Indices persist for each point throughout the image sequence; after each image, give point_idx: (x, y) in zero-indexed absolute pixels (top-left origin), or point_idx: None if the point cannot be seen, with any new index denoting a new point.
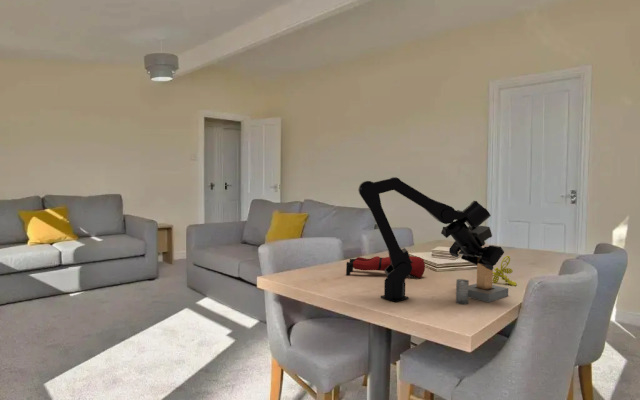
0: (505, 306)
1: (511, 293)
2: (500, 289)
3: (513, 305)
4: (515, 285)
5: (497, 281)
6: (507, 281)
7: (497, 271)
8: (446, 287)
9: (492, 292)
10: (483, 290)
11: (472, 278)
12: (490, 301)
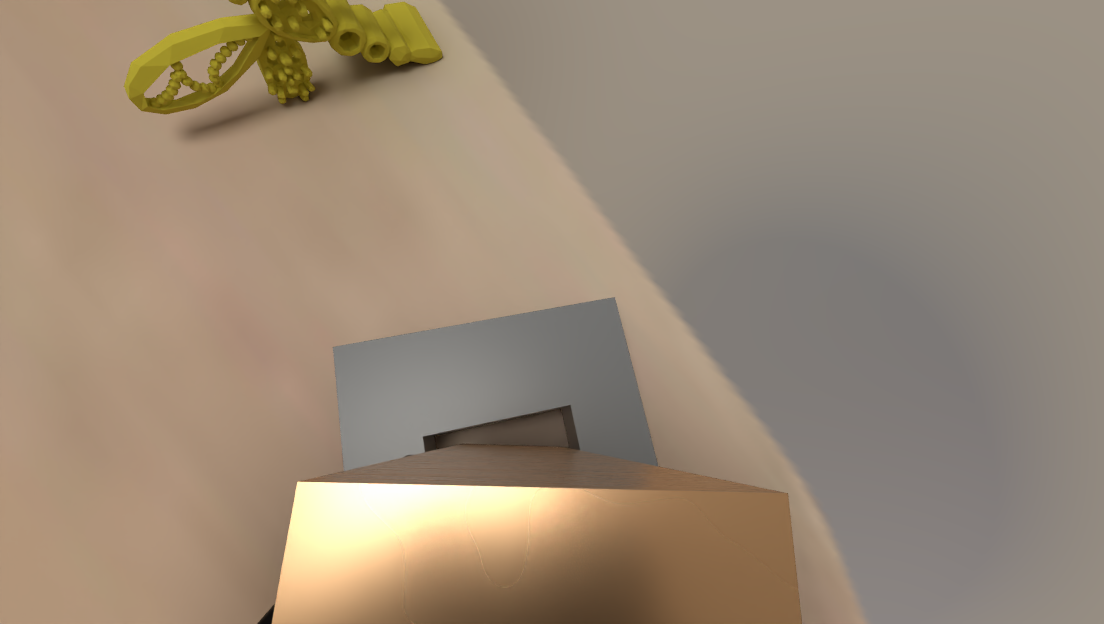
0: (804, 586)
1: (565, 239)
2: (618, 397)
3: (801, 500)
4: (437, 47)
5: (308, 79)
6: (384, 52)
7: (269, 8)
8: (92, 619)
9: None
10: None
11: (68, 117)
12: None
